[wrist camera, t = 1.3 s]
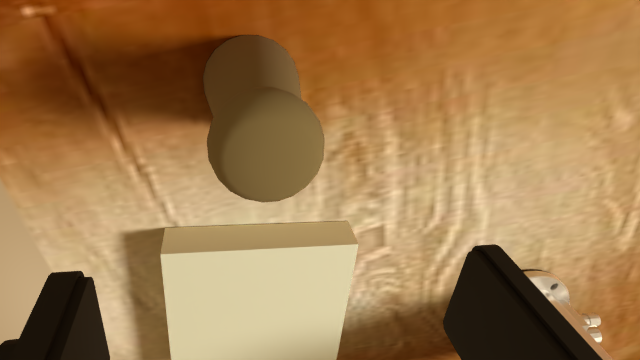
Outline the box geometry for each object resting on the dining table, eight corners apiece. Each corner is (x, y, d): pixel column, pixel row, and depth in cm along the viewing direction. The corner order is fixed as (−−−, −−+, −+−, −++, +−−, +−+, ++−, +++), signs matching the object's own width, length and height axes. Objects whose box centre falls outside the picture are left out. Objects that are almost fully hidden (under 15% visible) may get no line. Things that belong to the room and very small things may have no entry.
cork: (304, 118, 28) (347, 207, 19) (215, 135, 28) (215, 236, 18) (291, 27, 25) (335, 80, 16) (191, 43, 24) (176, 108, 15)
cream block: (347, 221, 34) (358, 244, 31) (327, 338, 40) (335, 365, 38) (164, 227, 30) (160, 254, 28) (176, 354, 37) (173, 385, 35)
